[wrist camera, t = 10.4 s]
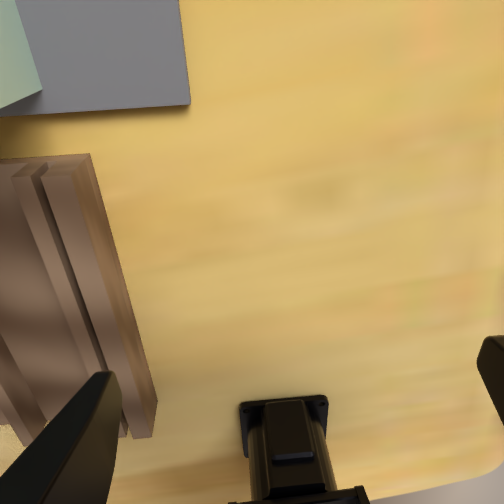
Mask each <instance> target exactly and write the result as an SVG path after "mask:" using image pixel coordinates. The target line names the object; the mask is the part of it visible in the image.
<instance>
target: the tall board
mask: <svg viewBox="0 0 504 504" xmlns="http://www.w3.org/2000/svg"><path fill="white" fill-rule="evenodd" d="M40 90H42V86H41V82H40V79H39V76H38V73H37V70H36V66H35V63H34V60H33V57H32V54H31V51H30V47H29V44H28V41H27V38H26V35H25V31H24V28H23V25H22V22H21V19H20V16H19V12H18V9H17V6H16V3H15V0H0V108H3V107H5V106H7V105H9V104H11V103H14V102H16V101H18V100H20V99H22V98H25V97H27V96H29V95H31V94H33V93H35V92H38V91H40Z"/></svg>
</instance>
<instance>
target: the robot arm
mask: <svg viewBox="0 0 504 504" xmlns="http://www.w3.org/2000/svg"><path fill="white" fill-rule="evenodd" d="M477 368H478V371H479V373H480V375H481V377H482V379H483V382H484V384H485V386H486V388H487V390H488V393H489V395H490V397H491V399H492V401H493V404H494V406H495V408H496V410H497V412H498V415H499V417H500V419H501V421H502V423H503V425H504V335H497V336H488V337H486V338H485V339H484V341H483V344H482V346H481V349H480V352H479V355H478V357H477ZM122 401H123V397H122V391H121V388H120V386H119V383H118V380H117V377H116V374H115V372H114V371H112V370H108V371H98V372H95V373H94V374H93V375H92V376H91V377H90V378H89V379H88V380H87V382H86V383H85V384H84V385H83V386H82V387H81V388H80V389H79V390H78V391H77V393H76V394H75V395H74V396H73V397H72V398H71V399H70V400H69V401H68V403H67V404H66V405H65V406H64V407H63V408H62V409H61V410H60V411H59V413H58V414H57V415H56V416H55V417H54V418H53V419H52V420H51V421H50V423H49V424H48V425H47V426H46V427H45V428H44V429H43V430H42V431H41V433H40V434H39V435H38V436H37V437H36V438H35V439H34V440H33V441H32V442H31V444H30V445H29V446H28V447H27V448H26V449H25V450H24V451H23V452H22V454H21V455H20V456H19V457H18V458H17V459H16V460H15V461H14V462H13V464H12V465H11V466H10V467H9V468H8V469H7V470H6V471H5V472H4V474H3V475H2V476H1V477H0V504H106V502H107V498H108V494H109V490H110V485H111V481H112V476H113V472H114V467H115V460H116V452H117V444H118V435H119V427H120V419H121V410H122ZM328 406H329V403H328V399H327V397H326V396H324V395H317V396H306V397H295V398H284V399H273V400H262V401H251V402H243V403H241V404H240V406H239V410H240V421H241V430H242V440H243V450H244V456H245V457H246V458H249V470H250V485H251V501H249V502H241V503H237V502H228V504H370V502H369V500H368V497H367V495H366V492H365V489H364V487H363V485H361V486H354V488H350V489H342V490H337V485H336V481H335V477H334V473H333V469H332V465H331V461H330V457H329V453H328V449H327V445H326V441H325V440H326V428H327V417H328Z"/></svg>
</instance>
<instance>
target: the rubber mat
mask: <svg viewBox="0 0 504 504" xmlns="http://www.w3.org/2000/svg"><path fill="white" fill-rule="evenodd" d="M15 3H16V6H17V9H18V12H19V16H20V19H21V22H22V25H23V28H24V31H25V35H26V38H27V41H28V44H29V47H30V51H31V54H32V57H33V60H34V63H35V66H36V70H37V73H38V76H39V79H40V82H41V86H42V90H40V91H38V92H35V93H33V94H31V95H29V96H27V97H25V98H22V99H20V100H18V101H16V102H14V103H11V104H9V105H7V106H5V107H3V108H0V117H4V116H19V115H35V114H50V113H65V112H81V111H96V110H111V109H127V108H142V107H158V106H173V105H188V104H191V96H190V88H189V80H188V72H187V64H186V56H185V48H184V40H183V32H182V24H181V16H180V8H179V0H15Z"/></svg>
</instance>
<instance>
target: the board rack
mask: <svg viewBox="0 0 504 504" xmlns="http://www.w3.org/2000/svg"><path fill="white" fill-rule="evenodd" d="M108 370H112V371H114V372H115V374H116V377H117V380H118V383H119V386H120V388H121V391H122V397H123V401H122V410H121V419H120V427H119V435H118V438H120V437H126V436H127V431H128V427H129V428H130V431H131V434H132V437H133V439H140V438H150V437H152V433H153V427H154V421H155V414H156V408H157V402H158V400H157V397H156V393H155V389H154V386H153V382H152V379H151V375H150V371H149V368H148V364H147V360H146V357H145V353H144V349H143V346H142V342H141V338H140V335H139V331H138V328H137V324H136V320H135V317H134V313H133V309H132V306H131V302H130V298H129V295H128V291H127V287H126V284H125V280H124V277H123V273H122V269H121V266H120V262H119V258H118V255H117V251H116V247H115V244H114V240H113V236H112V233H111V229H110V226H109V222H108V218H107V215H106V211H105V207H104V204H103V200H102V196H101V193H100V189H99V185H98V182H97V178H96V175H95V171H94V167H93V164H92V160H91V156H90V153H88V154H74V155H59V156H45V157H30V158H16V159H1V160H0V425H4V424H10V425H11V427H12V428H13V430H14V431H15V433H16V435H17V436H18V438H19V440H20V441H21V443H22V444H23V446H29V445H30V444H31V442H32V441H33V440H34V439H35V438H36V437H37V436H38V435H39V434H40V433H41V431H42V430H43V428H44V426H45V424H46V421H48V420H52V419H53V418H54V417H55V416H56V415H57V414H58V413H59V411H60V410H61V409H62V408H63V407H64V406H65V405H66V404H67V403H68V401H69V400H70V399H71V398H72V397H73V396H74V395H75V394H76V393H77V391H78V390H79V389H80V388H81V387H82V386H83V385H84V384H85V383H86V382H87V380H88V379H89V378H90V377H91V376H92V375H93V374H94V373H95V372H98V371H108Z"/></svg>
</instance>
